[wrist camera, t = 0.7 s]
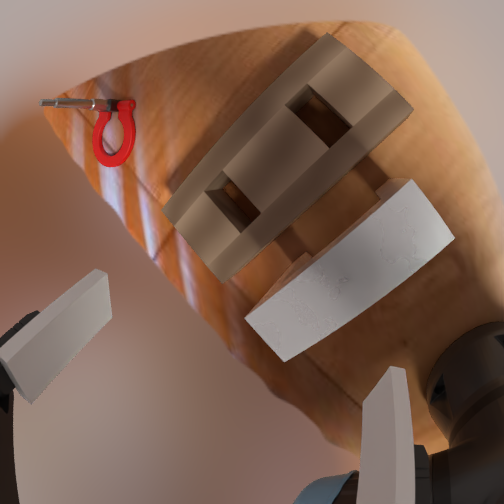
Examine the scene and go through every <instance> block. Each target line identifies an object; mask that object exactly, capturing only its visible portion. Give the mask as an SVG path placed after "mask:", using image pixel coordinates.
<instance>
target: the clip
mask: <svg viewBox="0 0 504 504" xmlns="http://www.w3.org/2000/svg"><path fill="white" fill-rule="evenodd" d="M375 193H376V194H377V195H378V196H379V198H380V199H381V200H380V201H378V202H377V203H376V204H375V205H374V206H373V207H372V208H370V209H369V210H368V211H367V212H366V213H365V214H364V215H362V216H361V217H360V218H359V219H358V220H357V221H356V222H354V223H353V224H352V225H351V226H350V227H349V228H347V229H346V230H345V231H344V232H343V233H342V234H340V235H339V236H338V237H337V238H336V239H334V240H333V241H332V242H331V243H330V244H328V245H327V246H326V247H325V248H324V249H323V250H321V251H320V252H319V253H318V254H317V255H315V256H314V257H313V258H312V257H311V255H310V254H309V253H308V252H307V251H306V252H305V253H303V254H302V255H301V256H300V257H299V258H298V259H296V260H295V261H294V262H293V263H292V264H291V265H290V266H289V267H288V268H287V270H286V271H285V272H284V273H283V274H282V275H281V277H280V278H279V279H278V280H277V281H276V282H275V284H274V285H273V286H272V287H271V288H270V289H269V290H268V292H267V293H266V294H265V295H264V296H263V297H262V298H261V300H260V301H259V302H258V303H257V304H256V305H255V306H254V308H253V309H252V310H251V311H250V312H249V313H248V314H247V315H246V317H245V320H246V321H247V322H248V323H249V324H250V325H251V326H252V327H253V329H254V330H255V331H256V332H257V333H258V334H259V335H260V336H261V338H262V339H263V340H264V341H265V342H266V343H267V344H268V345H269V346H270V347H271V349H272V350H273V351H274V352H275V353H276V354H277V355H278V356H279V357H280V358H281V359H282V360H283V362H286V361H288V360H289V359H291V358H293V357H294V356H296V355H298V354H299V353H301V352H302V351H304V350H306V349H307V348H309V347H311V346H312V345H314V344H315V343H317V342H318V341H320V340H322V339H323V338H325V337H326V336H328V335H329V334H331V333H332V332H334V331H335V330H337V329H338V328H340V327H341V326H343V325H344V324H346V323H347V322H349V321H350V320H352V319H353V318H355V317H356V316H357V315H359V314H360V313H362V312H363V311H365V310H366V309H367V308H369V307H370V306H372V305H373V304H374V303H376V302H377V301H378V300H380V299H381V298H382V297H384V296H385V295H386V294H388V293H389V292H390V291H392V290H393V289H394V288H396V287H397V286H398V285H400V284H401V283H402V282H403V281H405V280H406V279H407V278H409V277H410V276H411V275H412V274H414V273H415V272H416V271H417V270H419V269H420V268H421V267H422V266H423V265H425V264H426V263H427V262H428V261H429V260H431V259H432V258H433V257H434V256H435V255H437V254H438V253H439V252H440V251H441V250H442V249H444V248H445V247H446V246H447V245H448V244H449V243H450V242H451V241H453V240H454V239H455V237H454V236H453V234H452V233H451V231H450V230H449V228H448V227H447V225H446V224H445V222H444V221H443V220H442V218H441V217H440V215H439V214H438V212H437V211H436V210H435V208H434V207H433V206H432V204H431V203H430V201H429V200H428V199H427V197H426V196H425V195H424V194H423V192H422V191H421V190H420V188H419V187H418V186H417V185H416V183H415V182H414V181H413V180H412V179H403V178H389V179H388V180H387V181H386V182H385V183H384V184H383V185H382V186H381V187H379V188H378V189H377V190H376V191H375Z"/></svg>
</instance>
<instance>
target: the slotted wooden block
mask: <svg viewBox="0 0 504 504" xmlns="http://www.w3.org/2000/svg"><path fill="white" fill-rule="evenodd" d="M314 95H315V96H316V97H317V98H318V99H320V100H321V101H322V102H323V103H324V104H325V105H326V106H327V107H328V108H329V109H330V110H331V111H332V112H333V113H334V114H336V115H337V116H338V117H339V118H340V119H341V120H342V121H343V122H344V123H345V124H346V125H347V126H348V127H349V128H350V130H349V131H348V132H347V133H346V134H344V135H343V136H342V137H341V138H340V139H339V140H338V141H337V142H336V143H335V144H334V145H333V146H332V147H331V148H329V147H328V146H327V145H326V144H325V143H324V142H323V141H322V140H321V139H320V138H319V137H318V136H317V135H316V134H315V133H314V132H313V131H312V130H311V129H310V128H309V127H308V126H307V125H306V124H305V123H304V122H303V121H302V120H301V119H300V118H299V117H298V116H297V115H296V114H295V113H297V112H298V111H299V110H300V109H301V108H302V107H303V106H304V105H305V104H306V103H307V102H308V101H309V100H310V99H311V98H312V97H313V96H314ZM413 110H414V108H413V107H412V106H411V105H410V104H409V103H408V102H407V101H406V100H405V99H404V98H403V97H402V96H401V95H400V94H399V93H398V92H397V91H396V90H395V89H394V88H393V87H392V86H391V85H390V84H389V83H388V82H387V81H386V80H385V79H383V78H382V77H381V76H380V75H379V74H378V73H377V72H376V71H375V70H374V69H372V68H371V67H370V66H369V65H368V64H367V63H366V62H364V61H363V60H362V59H361V58H360V57H358V56H357V55H356V54H355V53H354V52H352V51H351V50H350V49H349V48H347V47H346V46H345V45H343V44H342V43H341V42H340V41H338V40H337V39H336V38H334V37H333V36H332V35H330V34H329V33H328V32H327V33H326V34H325V35H323V36H322V37H321V38H320V39H319V40H318V41H317V42H315V43H314V44H313V45H312V46H311V47H310V48H309V49H308V50H307V51H305V52H304V53H303V54H302V55H301V56H300V57H299V58H298V59H297V60H296V61H295V62H294V63H292V64H291V65H290V66H289V67H288V68H287V69H286V70H285V71H284V72H283V73H282V74H281V75H280V76H279V77H278V78H277V79H276V80H275V81H274V82H273V83H272V84H271V85H270V86H269V87H268V88H267V89H266V90H265V91H264V92H263V93H262V94H261V95H260V96H259V97H258V98H257V99H256V100H255V101H254V102H253V103H252V104H251V105H250V106H249V107H248V108H247V109H246V111H245V112H244V113H243V114H242V115H241V116H240V117H239V118H238V119H237V120H236V121H235V122H234V123H233V125H232V126H231V127H230V128H229V129H228V130H227V131H226V132H225V133H224V134H223V136H222V137H221V138H220V139H219V140H218V141H217V142H216V144H215V145H214V146H213V147H212V148H211V149H210V150H209V152H208V153H207V154H206V155H205V156H204V157H203V159H202V160H201V161H200V162H199V163H198V165H197V166H196V167H195V168H194V169H193V171H192V172H191V173H190V174H189V175H188V177H187V178H186V179H185V180H184V182H183V183H182V184H181V185H180V187H179V188H178V189H177V190H176V192H175V193H174V194H173V195H172V197H171V198H170V199H169V201H168V202H167V203H166V204H165V206H164V207H163V208H162V210H161V211H162V212H163V213H164V214H165V216H166V217H167V218H168V219H169V221H170V222H171V223H172V224H173V226H174V227H175V228H176V229H177V230H178V232H179V233H180V234H181V235H182V237H183V238H184V239H185V240H186V241H187V243H188V244H189V245H190V246H191V248H192V249H193V250H194V251H195V252H196V254H197V255H198V256H199V257H200V258H201V260H202V261H203V262H204V263H205V264H206V266H207V267H208V268H209V269H210V270H211V271H212V273H213V274H214V275H215V276H216V277H217V279H218V280H219V281H220V282H221V283H222V284H223V283H225V282H226V281H227V280H229V279H230V278H231V277H233V276H234V275H235V274H237V273H238V272H239V271H240V270H241V269H242V268H243V267H245V266H246V265H247V264H248V263H249V262H250V261H251V260H252V259H253V258H255V257H256V256H257V255H258V254H259V253H260V252H261V251H262V250H263V249H265V248H266V247H267V246H268V245H269V244H270V243H271V242H272V241H273V240H275V239H276V238H277V237H278V236H279V235H280V234H281V233H282V232H283V231H284V230H286V229H287V228H288V227H289V226H290V225H291V224H292V223H293V222H294V221H296V220H297V219H298V218H299V217H300V216H301V215H302V214H303V213H304V212H305V211H307V210H308V209H309V208H310V207H311V206H312V205H313V204H314V203H315V202H316V201H318V200H319V199H320V198H321V197H322V196H323V195H324V194H325V193H326V192H327V191H329V190H330V189H331V188H332V187H333V186H334V185H335V184H336V183H337V182H338V181H340V180H341V179H342V178H343V177H344V176H345V175H346V174H347V173H348V172H349V171H350V170H352V169H353V168H354V167H355V166H356V165H357V164H358V163H359V162H360V161H361V160H362V159H364V158H365V157H366V156H367V155H368V154H369V153H370V152H371V151H372V150H373V149H374V148H376V147H377V146H378V145H379V144H380V143H381V142H382V141H383V140H384V139H385V138H386V137H388V136H389V135H390V134H391V133H392V132H393V131H394V130H395V129H396V128H397V127H398V126H400V125H401V124H402V123H403V122H404V121H405V120H406V119H407V118H408V117H409V115H410V114H411V113H412V111H413ZM230 180H232V181H233V182H234V183H235V185H236V186H237V187H238V188H239V189H240V190H241V191H242V192H243V193H244V194H245V196H246V197H247V198H248V199H249V200H250V201H251V202H252V203H253V204H254V206H255V207H256V208H257V209H258V210H259V211H260V212H261V214H260V215H259V216H258V217H257V218H256V219H255V220H254V221H253V222H251V221H250V219H249V218H248V217H247V216H246V215H245V214H244V213H243V212H242V210H241V209H240V208H239V207H238V206H237V205H236V204H235V202H234V201H233V200H232V199H231V198H230V197H229V196H228V195H227V194H226V192H225V191H224V190H223V188H224V187H225V186H226V185H227V183H228V182H229V181H230Z"/></svg>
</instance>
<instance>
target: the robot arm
mask: <svg viewBox="0 0 504 504" xmlns="http://www.w3.org/2000/svg"><path fill="white" fill-rule="evenodd" d="M111 318H112V310H111V302H110V293H109V284H108V274H107V273H105V272H103V271H101V270H98V269H94V270H93V271H92V272H90V273H89V274H88V275H87V276H85V277H84V278H83V279H81V280H80V281H79V282H78V283H76V284H75V285H74V286H73V287H71V288H70V289H69V290H67V291H66V292H65V293H64V294H62V295H61V296H60V297H59V298H57V299H56V300H55V301H54V302H53V303H51V304H50V305H49V306H48V307H46V308H45V309H44V310H43V311H42V312H39V311H34V312H32V313H30V314H27V315H26V316H25V317H24V318H22V319H21V320H20V321H19V323H17V324H15V325H14V326H13V328H11V329H10V330H8V331H7V332H6V333H5V334H4V335H3V336H2V337H1V338H0V504H20V503H19V497H18V490H17V483H16V475H15V463H14V447H13V401H14V393H13V389H14V388H15V387H16V389H17V391H18V392H19V394H20V395H21V396H22V397H23V398H24V399H25V400H27V401H28V402H29V403H30V404H32V403H33V402H34V401H35V400H36V399H37V398H38V397H39V395H40V394H41V393H42V392H43V391H44V390H45V389H46V388H47V386H48V385H49V384H50V383H51V382H52V381H53V380H54V379H55V377H56V376H57V375H58V374H59V373H60V372H61V371H62V370H63V369H64V368H65V367H66V365H67V364H68V363H69V362H70V361H71V360H72V359H73V358H74V357H75V356H76V355H77V354H78V353H79V351H80V350H81V349H82V348H83V347H84V346H85V345H86V344H87V343H88V342H89V341H90V340H91V339H92V338H93V337H94V336H95V335H96V334H97V333H98V332H99V330H101V329H102V328H103V326H104V325H105V324H106V323H107V322H108V321H109V320H110V319H111ZM426 395H427V402H428V408H429V412H430V414H431V417H432V419H433V420H434V422H435V423H436V424H437V426H438V427H439V429H440V430H441V432H442V433H443V435H444V436H445V438H446V439H447V440H448V442H449V448H450V449H447V450H444V451H441V452H438V453H435V454H431V455H428V454H427V452H426V450H425V447H424V445H414V443H413V429H412V418H411V409H410V400H409V392H408V385H407V378H406V371H405V369H403V368H399V367H394V366H390V367H389V368H388V370H387V371H386V372H385V374H384V375H383V376H382V378H381V379H380V381H379V382H378V383H377V385H376V386H375V387H374V388H373V390H372V391H371V392H370V394H369V395H368V396H367V397H366V399H365V400H364V401H363V414H362V441H361V458H360V471H357V470H353V471H351V472H349V473H347V474H342V475H336V476H329V477H324V478H320V479H318V480H315V481H313V482H312V483H310V484H309V485H308V486H306V488H304V489H303V490H302V491H301V493H300V494H299V495H298V497H297V498H296V500H295V501H294V503H293V504H504V322H493V323H488V324H485V325H482V326H479V327H477V328H475V329H473V330H471V331H469V332H468V333H466V334H464V335H463V336H462V337H460V338H459V339H458V340H456V341H455V342H454V343H453V344H452V345H451V346H450V347H449V348H448V349H447V350H446V351H445V352H444V353H443V354H442V355H441V357H440V358H439V359H438V361H437V362H436V364H435V366H434V367H433V369H432V371H431V374H430V376H429V379H428V383H427V389H426Z"/></svg>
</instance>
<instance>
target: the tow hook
mask: <svg viewBox="0 0 504 504" xmlns="http://www.w3.org/2000/svg"><path fill="white" fill-rule="evenodd" d="M39 105H40V106H53V107H54V108H81V109H89V110H95V111H99V112H100V113H99V118H98V120H97V122H96V124H95V127H94V131H93V139H92V143H93V150H94V153H95V156H96V158H97V159H98V161H99V162H100V163H101V164H102V165H104V166H106V167H116V166H119V165H121V164H122V163H123V162H125V161H126V159H127V158H128V157H129V155H130V153H131V151H132V149H133V145H134V141H135V124H134V121H133V118H132V110H133V109H134V108H135V106H136V103H135V101H134V100H125V101H121V100H114V99H108V100H103V99H90V100H86V99H70V98H55V99H54V100H51V99H41V100H40V101H39ZM111 112H119V113H118V119H119V120H120V121H121V123H122V125H123V128H124V140H123V144H122V146H121V149H120V150H119V151H118V153H117V154H115V155H113V156H110V155H108V154H107V153H106V152H105V150H104V149H103V146H102V133H103V129H104V127H105V125H106V123H107V122H108V121H109V120H110V118H111Z"/></svg>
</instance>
